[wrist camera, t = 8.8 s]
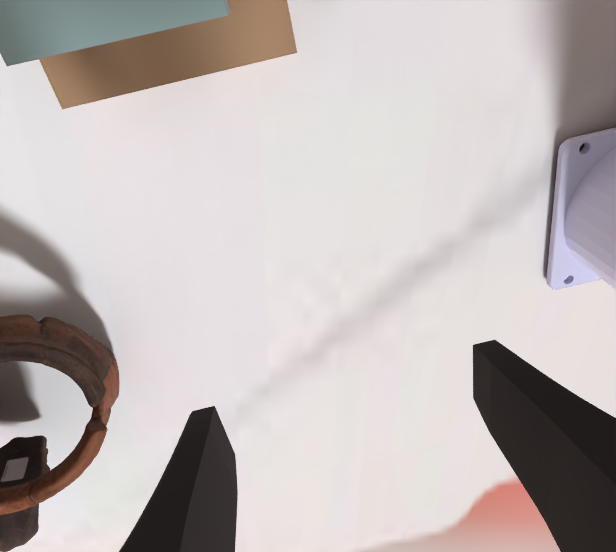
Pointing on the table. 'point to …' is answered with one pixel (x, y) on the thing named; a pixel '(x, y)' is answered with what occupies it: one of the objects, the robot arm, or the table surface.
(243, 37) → the slab
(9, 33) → the cube
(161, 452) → the table surface
